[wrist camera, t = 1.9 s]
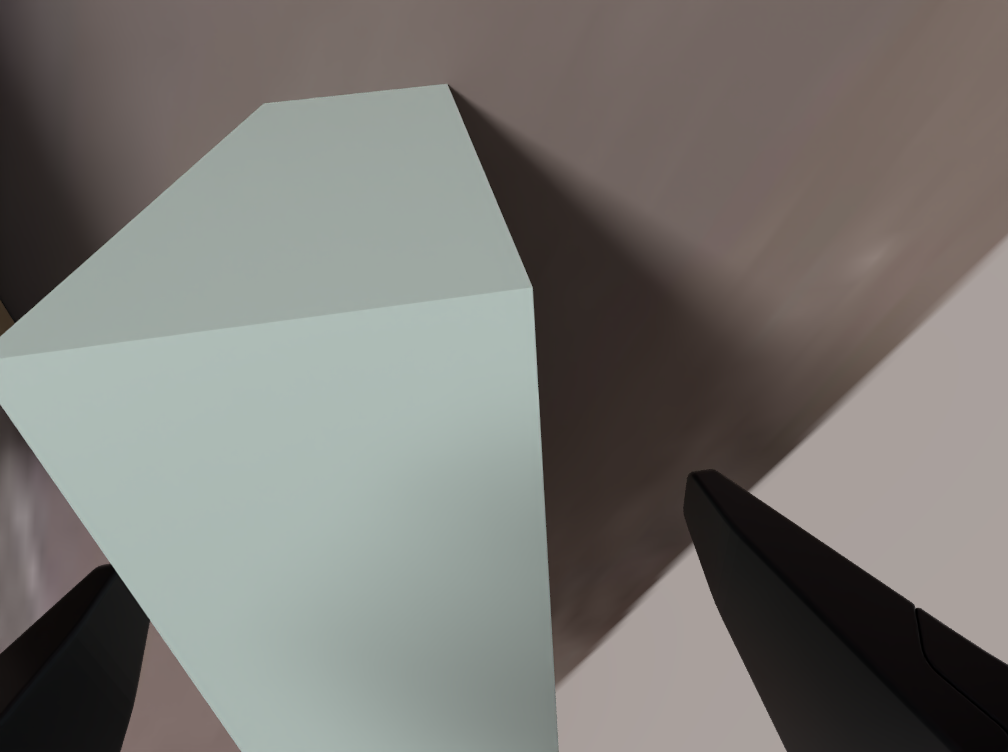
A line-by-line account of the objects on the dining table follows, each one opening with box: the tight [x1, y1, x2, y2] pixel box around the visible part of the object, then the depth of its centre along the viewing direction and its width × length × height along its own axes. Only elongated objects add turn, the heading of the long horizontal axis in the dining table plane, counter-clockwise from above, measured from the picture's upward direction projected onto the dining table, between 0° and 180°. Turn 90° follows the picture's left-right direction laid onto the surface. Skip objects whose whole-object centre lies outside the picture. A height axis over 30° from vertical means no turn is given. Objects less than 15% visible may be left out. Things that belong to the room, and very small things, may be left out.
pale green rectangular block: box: [0, 84, 559, 752], centre depth 10 cm, size 3×12×8 cm, turn 5°
